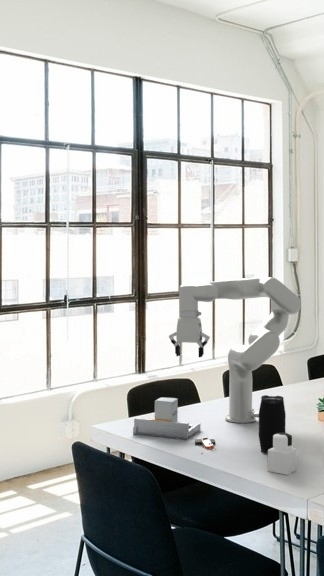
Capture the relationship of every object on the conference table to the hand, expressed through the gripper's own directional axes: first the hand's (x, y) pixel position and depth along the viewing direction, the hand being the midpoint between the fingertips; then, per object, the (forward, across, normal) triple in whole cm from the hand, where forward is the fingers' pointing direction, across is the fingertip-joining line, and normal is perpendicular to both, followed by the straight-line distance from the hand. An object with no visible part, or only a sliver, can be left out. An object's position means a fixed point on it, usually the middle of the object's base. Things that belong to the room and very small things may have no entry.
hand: (189, 356), depth 289 cm
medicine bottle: (+28, -48, +49) cm, 74 cm away
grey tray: (+28, +4, +17) cm, 33 cm away
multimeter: (+28, -19, +32) cm, 47 cm away
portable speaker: (+28, -40, +29) cm, 57 cm away
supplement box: (+27, +4, +19) cm, 33 cm away
